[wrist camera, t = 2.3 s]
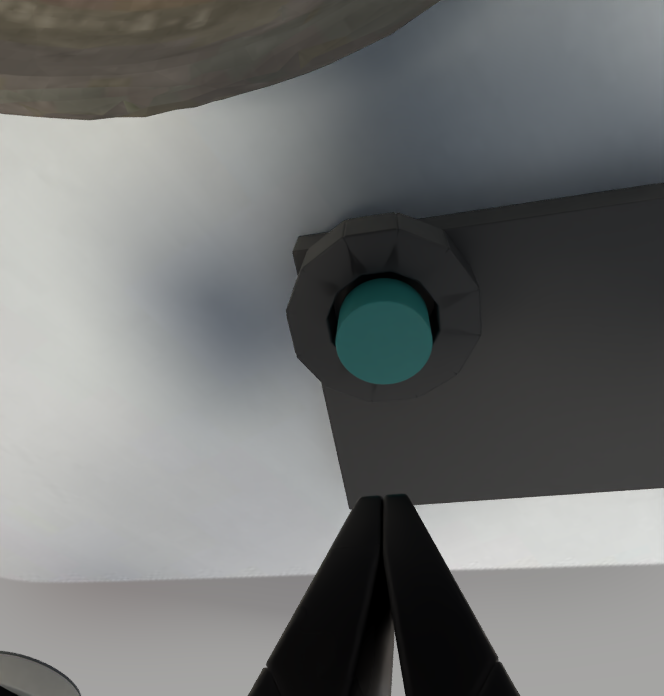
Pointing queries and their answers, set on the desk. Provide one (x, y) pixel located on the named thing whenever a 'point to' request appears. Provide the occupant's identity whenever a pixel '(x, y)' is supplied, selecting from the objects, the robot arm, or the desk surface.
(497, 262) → the scale
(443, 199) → the desk surface
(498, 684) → the robot arm
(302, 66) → the bowl
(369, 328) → the button
